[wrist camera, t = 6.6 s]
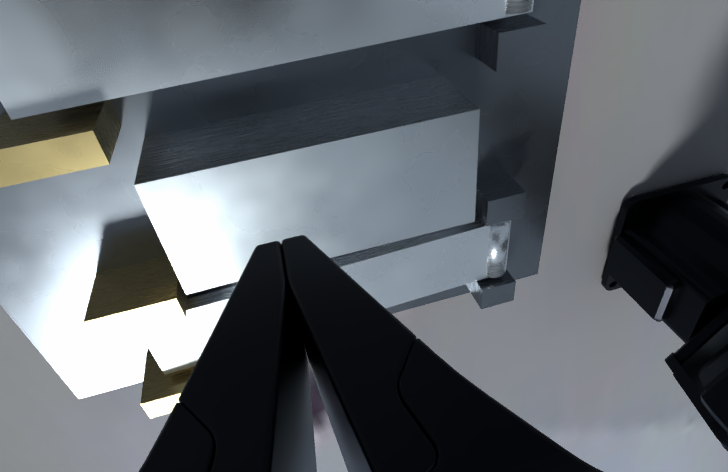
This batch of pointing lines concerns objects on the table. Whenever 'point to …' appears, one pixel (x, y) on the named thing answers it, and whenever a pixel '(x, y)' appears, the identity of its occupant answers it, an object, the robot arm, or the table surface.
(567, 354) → the table surface
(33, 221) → the cooler plate
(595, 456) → the table surface
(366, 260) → the strap rear
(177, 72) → the bar
